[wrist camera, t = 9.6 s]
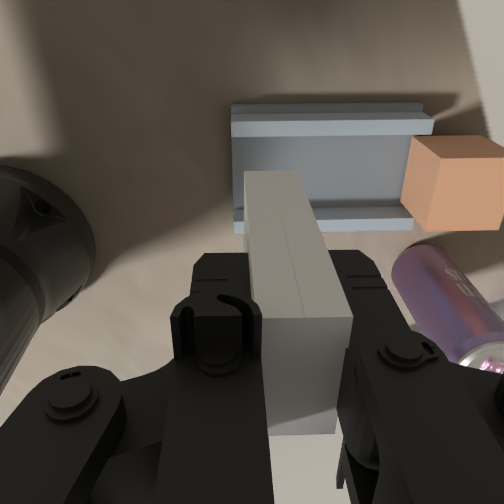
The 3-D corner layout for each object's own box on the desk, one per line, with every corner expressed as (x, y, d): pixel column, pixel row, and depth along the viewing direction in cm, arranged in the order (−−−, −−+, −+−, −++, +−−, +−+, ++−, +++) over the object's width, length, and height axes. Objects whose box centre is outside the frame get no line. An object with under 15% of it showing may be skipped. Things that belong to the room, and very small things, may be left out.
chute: (233, 222, 42) (233, 239, 39) (230, 104, 37) (230, 113, 34) (398, 219, 43) (410, 236, 40) (419, 102, 37) (436, 111, 34)
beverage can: (378, 279, 46) (435, 388, 33) (410, 232, 44) (486, 332, 31) (424, 296, 48) (496, 408, 35) (458, 252, 45) (550, 356, 32)
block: (400, 201, 40) (425, 231, 35) (412, 136, 37) (441, 158, 32) (464, 200, 41) (498, 230, 35) (481, 135, 38) (521, 157, 32)
